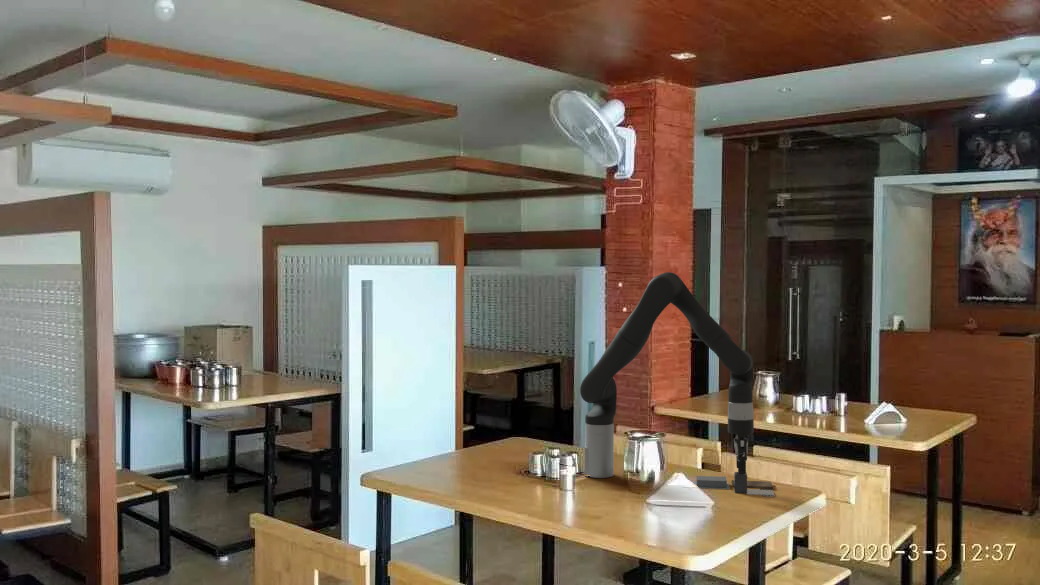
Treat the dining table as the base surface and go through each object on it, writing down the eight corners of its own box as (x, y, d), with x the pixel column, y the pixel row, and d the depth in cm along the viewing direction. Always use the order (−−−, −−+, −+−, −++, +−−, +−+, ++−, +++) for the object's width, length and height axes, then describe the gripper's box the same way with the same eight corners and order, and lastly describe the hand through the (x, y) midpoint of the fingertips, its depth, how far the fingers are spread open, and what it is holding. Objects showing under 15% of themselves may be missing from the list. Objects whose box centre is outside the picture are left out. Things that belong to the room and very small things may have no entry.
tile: (696, 480, 274) (726, 481, 272) (696, 475, 280) (725, 476, 278) (696, 487, 274) (726, 488, 272) (696, 482, 280) (725, 483, 278)
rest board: (732, 488, 274) (732, 485, 273) (731, 483, 280) (731, 480, 280) (773, 490, 271) (773, 486, 271) (770, 484, 278) (770, 481, 278)
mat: (683, 488, 274) (683, 487, 274) (683, 482, 282) (683, 481, 282) (729, 490, 271) (729, 489, 271) (728, 484, 279) (728, 483, 279)
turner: (734, 490, 271) (734, 470, 271) (772, 492, 269) (772, 472, 269) (735, 495, 265) (735, 475, 265) (774, 496, 263) (774, 476, 263)
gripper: (755, 420, 259) (755, 476, 260) (751, 413, 273) (752, 466, 274) (728, 420, 261) (729, 475, 261) (726, 413, 275) (727, 466, 275)
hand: (741, 471), depth 267 cm, fingers open, 8 cm apart
